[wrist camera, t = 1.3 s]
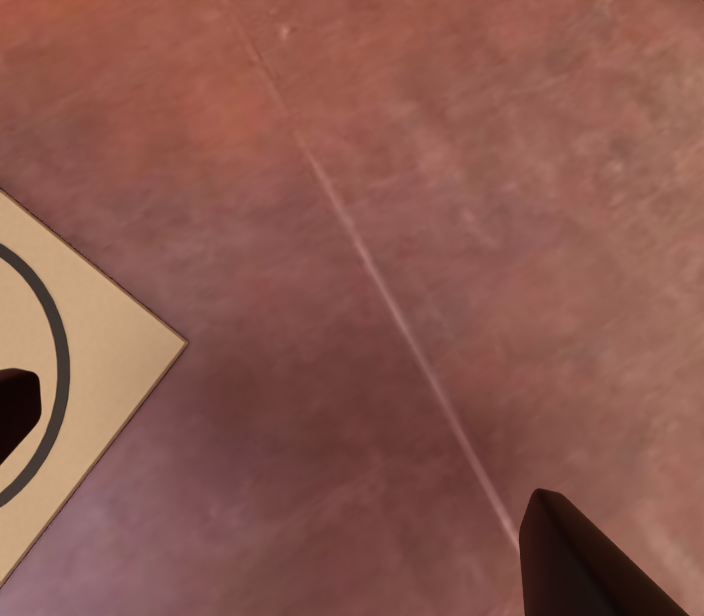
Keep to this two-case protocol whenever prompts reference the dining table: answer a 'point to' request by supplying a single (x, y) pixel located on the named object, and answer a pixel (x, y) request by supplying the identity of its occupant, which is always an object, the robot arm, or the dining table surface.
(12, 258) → the board
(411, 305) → the dining table surface
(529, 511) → the robot arm
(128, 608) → the dining table surface
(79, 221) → the dining table surface
